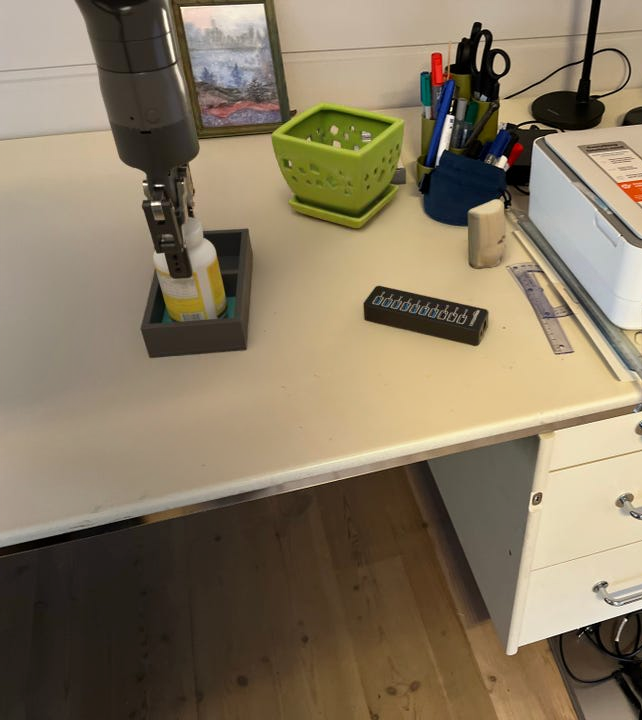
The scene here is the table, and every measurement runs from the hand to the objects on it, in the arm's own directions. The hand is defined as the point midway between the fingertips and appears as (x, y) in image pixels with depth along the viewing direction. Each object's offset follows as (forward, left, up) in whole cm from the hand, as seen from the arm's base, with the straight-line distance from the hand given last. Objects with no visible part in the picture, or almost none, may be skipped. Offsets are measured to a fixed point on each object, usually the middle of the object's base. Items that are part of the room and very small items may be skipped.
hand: (185, 258), depth 82 cm
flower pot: (+26, -18, -10) cm, 33 cm away
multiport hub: (-3, -26, -10) cm, 28 cm away
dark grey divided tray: (+5, 0, -9) cm, 11 cm away
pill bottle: (0, 0, -8) cm, 8 cm away
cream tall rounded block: (+10, -36, -10) cm, 39 cm away
